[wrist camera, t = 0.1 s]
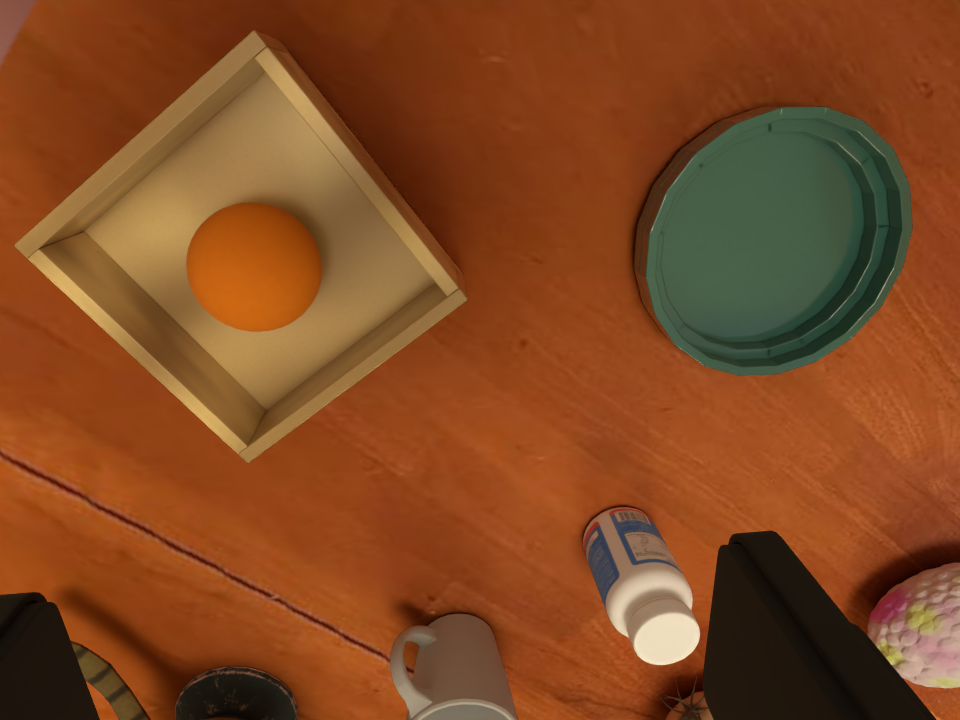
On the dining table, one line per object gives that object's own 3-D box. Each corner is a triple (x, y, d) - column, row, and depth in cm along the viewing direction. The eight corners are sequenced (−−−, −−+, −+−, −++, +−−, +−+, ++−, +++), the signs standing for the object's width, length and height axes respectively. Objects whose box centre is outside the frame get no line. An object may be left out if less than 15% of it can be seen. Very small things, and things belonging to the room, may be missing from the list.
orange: (184, 243, 36) (134, 273, 30) (272, 168, 34) (239, 183, 28) (268, 331, 38) (238, 375, 32) (354, 264, 37) (339, 296, 31)
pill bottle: (606, 577, 48) (648, 689, 39) (567, 531, 46) (601, 637, 37) (669, 539, 47) (727, 644, 38) (632, 490, 45) (683, 588, 36)
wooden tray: (68, 226, 35) (12, 245, 31) (278, 39, 33) (253, 29, 28) (268, 421, 41) (247, 464, 36) (463, 274, 38) (468, 299, 33)
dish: (583, 217, 37) (595, 226, 35) (815, 45, 35) (846, 41, 32) (707, 401, 43) (725, 420, 40) (916, 263, 40) (950, 275, 37)
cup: (456, 692, 51) (461, 801, 43) (362, 626, 48) (349, 731, 40) (527, 638, 49) (545, 740, 41) (435, 566, 46) (436, 662, 38)
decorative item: (1081, 634, 47) (1088, 736, 40) (912, 636, 55) (892, 721, 47) (1026, 523, 47) (1023, 606, 39) (864, 541, 54) (838, 613, 47)
